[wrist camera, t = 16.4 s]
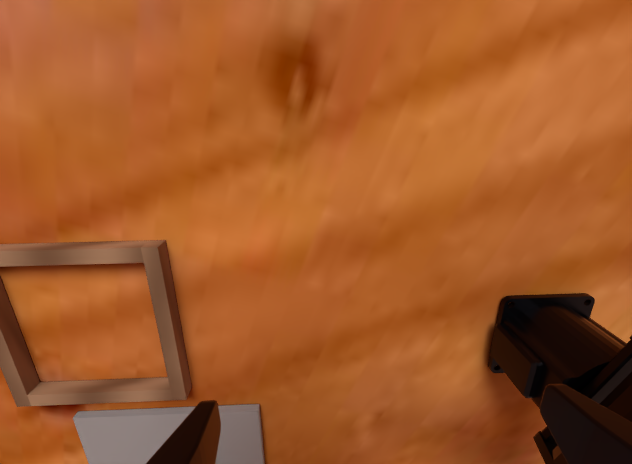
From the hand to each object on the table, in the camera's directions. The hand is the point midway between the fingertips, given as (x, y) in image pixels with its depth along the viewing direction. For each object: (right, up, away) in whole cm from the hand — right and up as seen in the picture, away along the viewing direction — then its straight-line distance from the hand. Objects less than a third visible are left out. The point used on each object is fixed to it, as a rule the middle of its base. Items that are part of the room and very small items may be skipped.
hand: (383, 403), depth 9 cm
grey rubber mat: (-13, -16, +19) cm, 28 cm away
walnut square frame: (-17, -2, +14) cm, 22 cm away
